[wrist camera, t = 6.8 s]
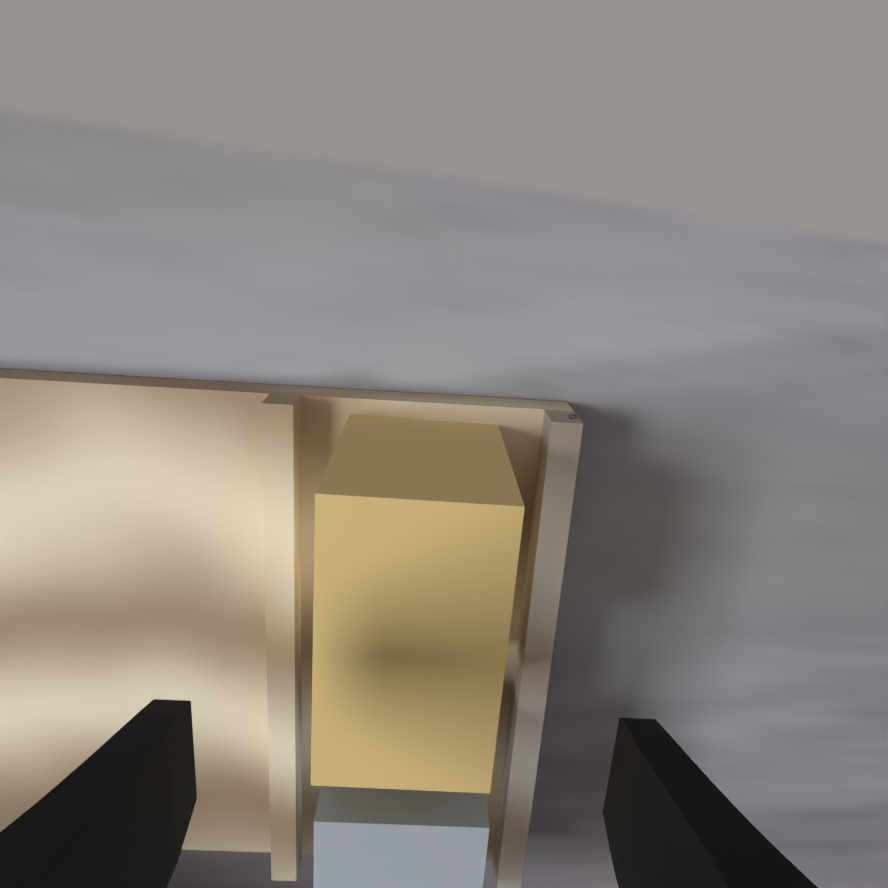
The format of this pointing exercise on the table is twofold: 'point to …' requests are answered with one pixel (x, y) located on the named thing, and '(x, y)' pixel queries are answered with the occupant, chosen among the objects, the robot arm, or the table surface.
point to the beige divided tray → (225, 587)
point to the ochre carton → (412, 604)
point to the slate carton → (399, 838)
